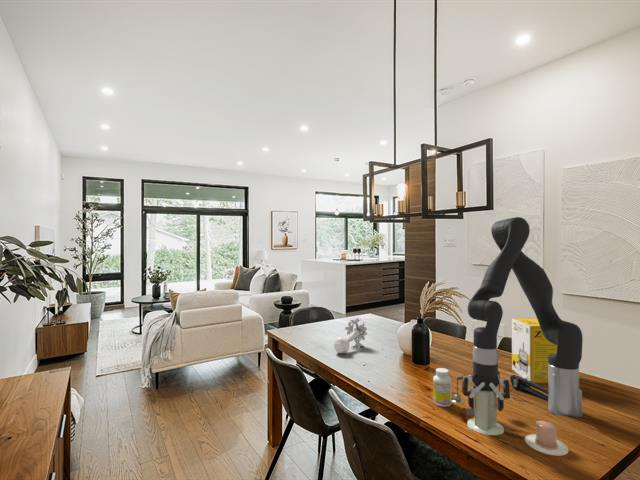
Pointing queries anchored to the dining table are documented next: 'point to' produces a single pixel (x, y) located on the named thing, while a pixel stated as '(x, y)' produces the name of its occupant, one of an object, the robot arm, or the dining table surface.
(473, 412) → the balance
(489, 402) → the skincare box
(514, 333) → the packaging box
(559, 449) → the dish near
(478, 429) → the pale white round dome
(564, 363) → the robot arm
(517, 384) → the can opener
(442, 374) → the supplement bottle
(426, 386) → the dining table surface
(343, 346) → the flower vase
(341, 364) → the dining table surface
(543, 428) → the peach domed cylinder
